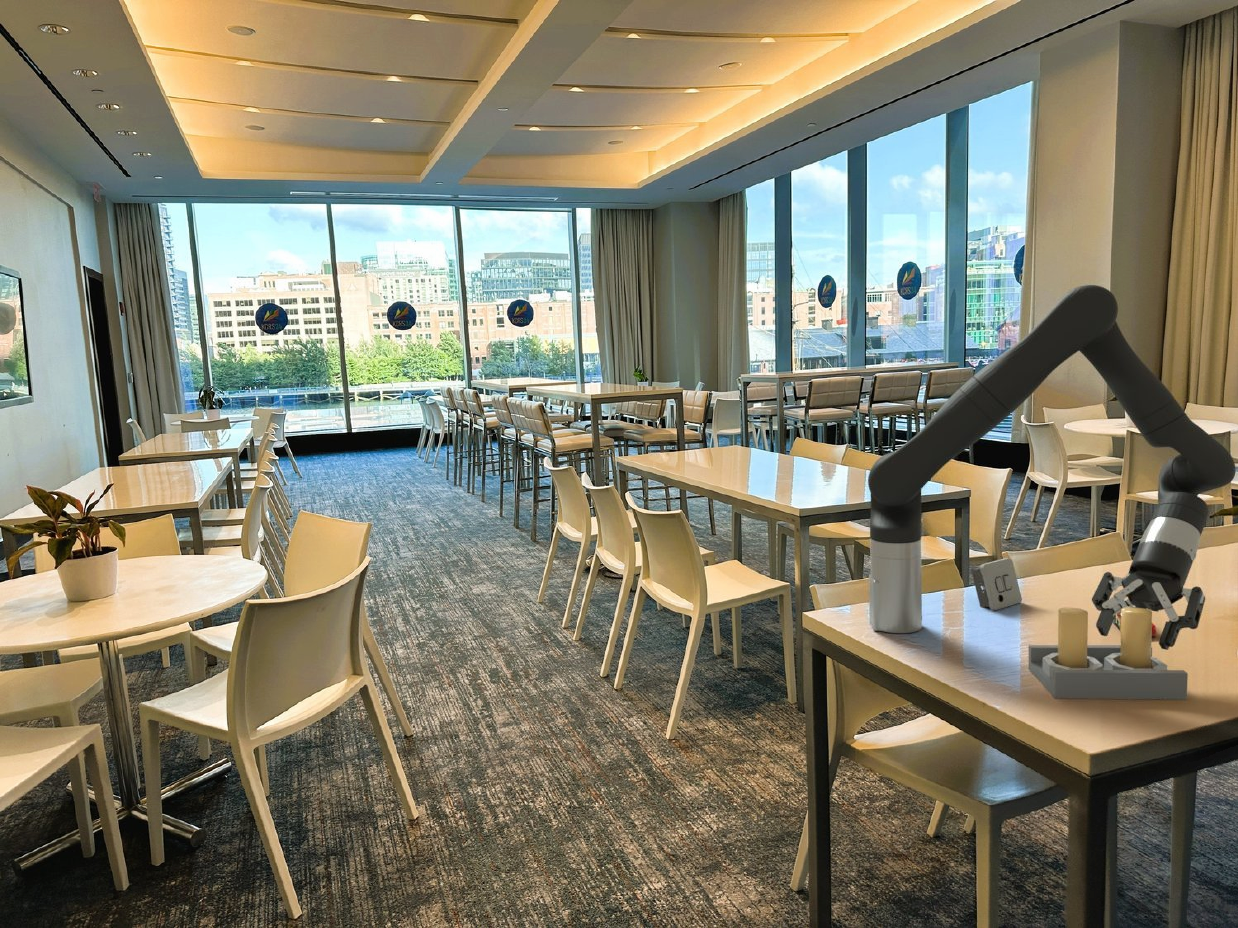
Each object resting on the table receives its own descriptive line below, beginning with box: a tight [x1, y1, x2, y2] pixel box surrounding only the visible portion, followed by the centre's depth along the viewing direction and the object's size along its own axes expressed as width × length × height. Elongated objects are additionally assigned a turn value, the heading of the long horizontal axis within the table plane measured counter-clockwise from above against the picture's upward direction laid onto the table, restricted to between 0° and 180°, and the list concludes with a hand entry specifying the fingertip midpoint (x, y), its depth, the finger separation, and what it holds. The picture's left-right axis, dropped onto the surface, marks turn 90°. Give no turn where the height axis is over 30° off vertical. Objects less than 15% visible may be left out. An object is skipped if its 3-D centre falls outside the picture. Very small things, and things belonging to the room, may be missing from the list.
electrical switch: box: [971, 557, 1023, 611], centre depth 171 cm, size 9×5×9 cm, turn 121°
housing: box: [1027, 606, 1189, 701], centre depth 129 cm, size 18×12×12 cm, turn 82°
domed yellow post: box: [1120, 607, 1153, 668], centre depth 128 cm, size 4×4×10 cm
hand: (1131, 639), depth 127 cm, fingers open, 8 cm apart
